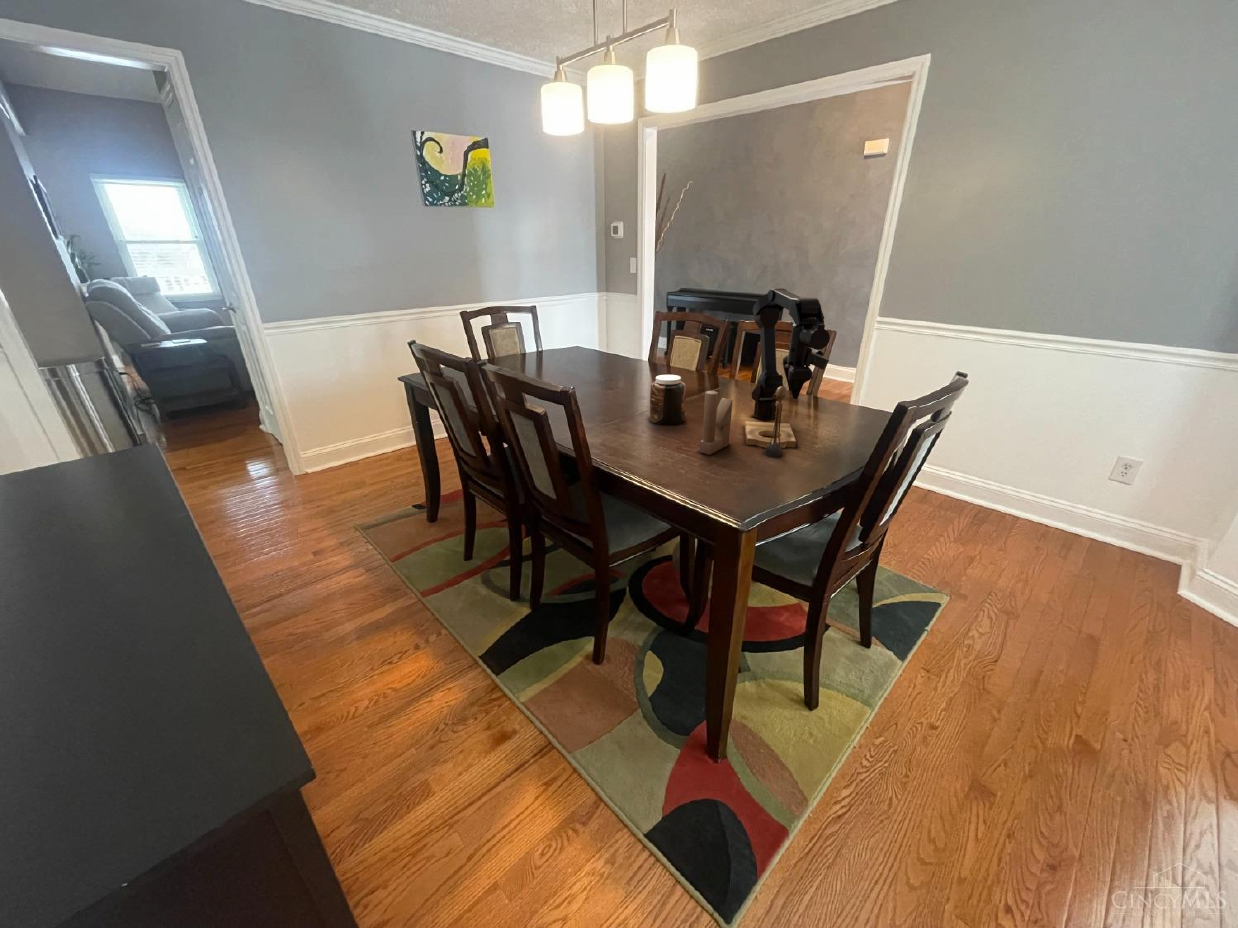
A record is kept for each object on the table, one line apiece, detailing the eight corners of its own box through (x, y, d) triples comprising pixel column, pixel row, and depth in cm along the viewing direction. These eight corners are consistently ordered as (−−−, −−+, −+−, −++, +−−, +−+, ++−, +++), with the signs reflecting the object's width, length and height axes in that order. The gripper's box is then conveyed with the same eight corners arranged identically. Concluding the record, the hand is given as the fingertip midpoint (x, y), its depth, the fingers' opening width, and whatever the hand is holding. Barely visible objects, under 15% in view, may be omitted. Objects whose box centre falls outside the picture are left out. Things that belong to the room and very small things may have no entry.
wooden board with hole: (744, 427, 163) (745, 421, 162) (788, 429, 160) (789, 423, 159) (747, 446, 147) (747, 440, 146) (795, 449, 144) (796, 443, 144)
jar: (666, 427, 163) (667, 383, 157) (643, 419, 171) (643, 377, 165) (691, 420, 170) (693, 377, 163) (667, 412, 178) (668, 371, 172)
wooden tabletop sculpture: (774, 459, 138) (782, 390, 130) (759, 454, 141) (767, 387, 133) (785, 453, 142) (794, 386, 133) (770, 449, 145) (779, 383, 137)
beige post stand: (729, 445, 148) (734, 387, 141) (709, 455, 141) (713, 394, 134) (718, 442, 150) (722, 384, 143) (698, 452, 143) (702, 392, 136)
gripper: (836, 350, 134) (826, 405, 141) (823, 338, 151) (815, 387, 157) (793, 349, 136) (786, 403, 143) (785, 337, 153) (779, 386, 159)
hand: (793, 394), depth 150 cm, fingers open, 9 cm apart
